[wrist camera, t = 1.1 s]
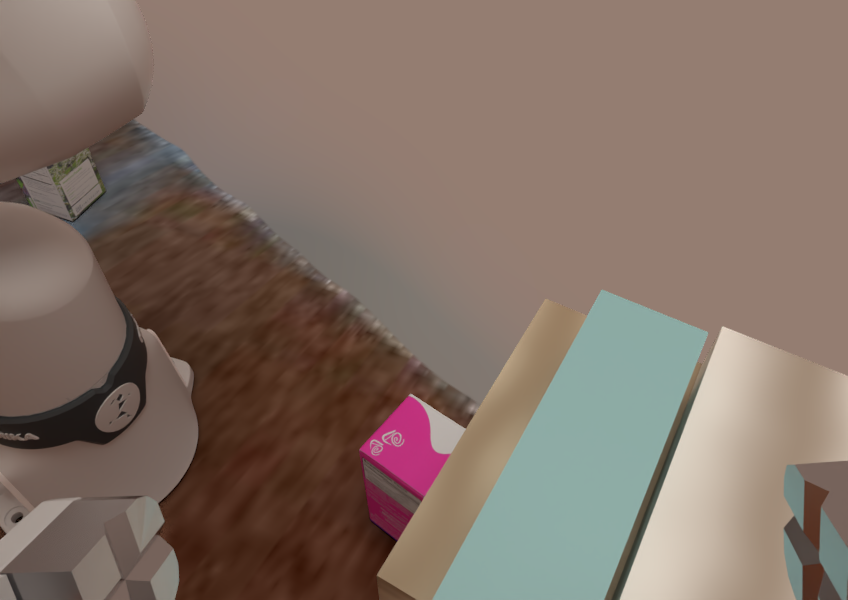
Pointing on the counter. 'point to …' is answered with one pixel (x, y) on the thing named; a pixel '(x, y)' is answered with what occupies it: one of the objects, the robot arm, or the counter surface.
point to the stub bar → (581, 462)
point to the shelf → (672, 479)
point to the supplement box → (405, 462)
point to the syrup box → (64, 186)
